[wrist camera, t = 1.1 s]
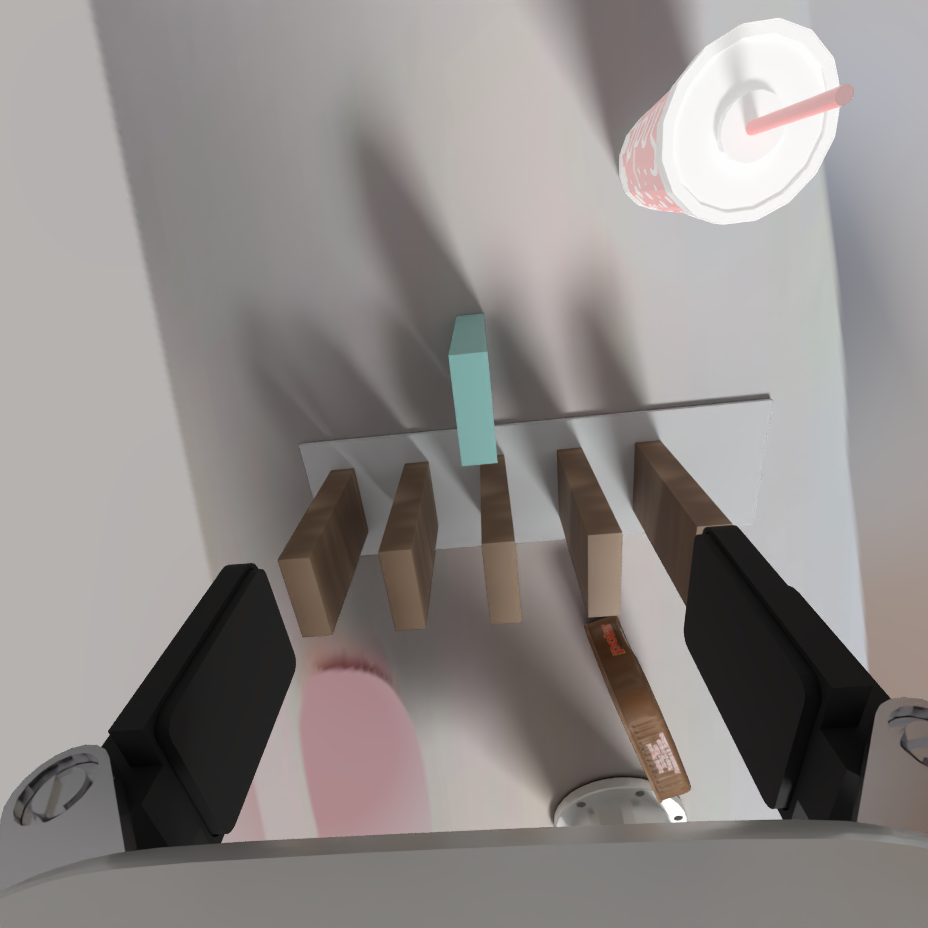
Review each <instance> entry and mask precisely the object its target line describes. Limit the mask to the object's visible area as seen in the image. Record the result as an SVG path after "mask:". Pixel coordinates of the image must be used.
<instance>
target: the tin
mask: <svg viewBox="0 0 928 928" xmlns="http://www.w3.org/2000/svg"><path fill="white" fill-rule="evenodd" d="M584 628H585V631H586V634H587V637H588V640H589V642H590V645H591V648H592V650H593V653H594V655H595V658H596V660H597V663H598V666H599V668H600V671H601V673H602V676H603V678H604V681H605V683H606V686H607V688H608V690H609V693H610V695H611V698H612V700H613V702H614V705H615V707H616V709H617V712H618V714H619V716H620V718H621V721H622V723H623V725H624V728H625V730H626V732H627V734H628V736H629V739H630V741H631V743H632V745H633V747H634V750H635V752H636V754H637V756H638V758H639V761H640V763H641V765H642V767H643V769H644V771H645V773H646V776H647V778H648V780H649V782H650V784H651V787H652V789H653V791H654V793H655V796H656V798H657V800H658V802H659V803H661V802H662V801H663V800H666V799H669V798H672V797H675V796H678V795H681V794H684V793H687V792H689V791H690V789H691V785H690V782H689V779H688V776H687V774H686V771H685V769H684V766H683V764H682V761H681V759H680V756H679V753H678V751H677V748H676V746H675V743H674V741H673V739H672V736H671V734H670V731H669V729H668V727H667V724H666V722H665V720H664V717H663V715H662V713H661V710H660V708H659V706H658V703H657V701H656V699H655V697H654V694H653V692H652V690H651V688H650V685H649V683H648V681H647V678H646V676H645V674H644V672H643V670H642V668H641V666H640V664H639V662H638V660H637V658H636V656H635V655H634V653H633V651H632V650H631V648H630V645H629V643H628V641H627V639H626V636H625V634H624V632H623V630H622V627H621V625H620V622H619V619H618V617H617V616H609V617H606V618H603V619H600V620H597V621H595V622H592V623H589V624H587V623H585V624H584Z"/></svg>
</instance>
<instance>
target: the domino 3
mask: <svg viewBox="0 0 928 928" xmlns="http://www.w3.org/2000/svg"><path fill="white" fill-rule="evenodd" d="M448 358H449V366H450V374H451V382H452V390H453V398H454V406H455V414H456V422H457V430H458V438H459V446H460V454H461V462H462V466H470V465H481V464H492V463H498V461H497V450H496V439H495V428H494V417H493V406H492V395H491V384H490V373H489V362H488V351H487V341H486V331H485V320H484V313H479V314H470V315H461V316H456V321H455V326H454V331H453V335H452V340H451V345H450V350H449V354H448Z"/></svg>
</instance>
